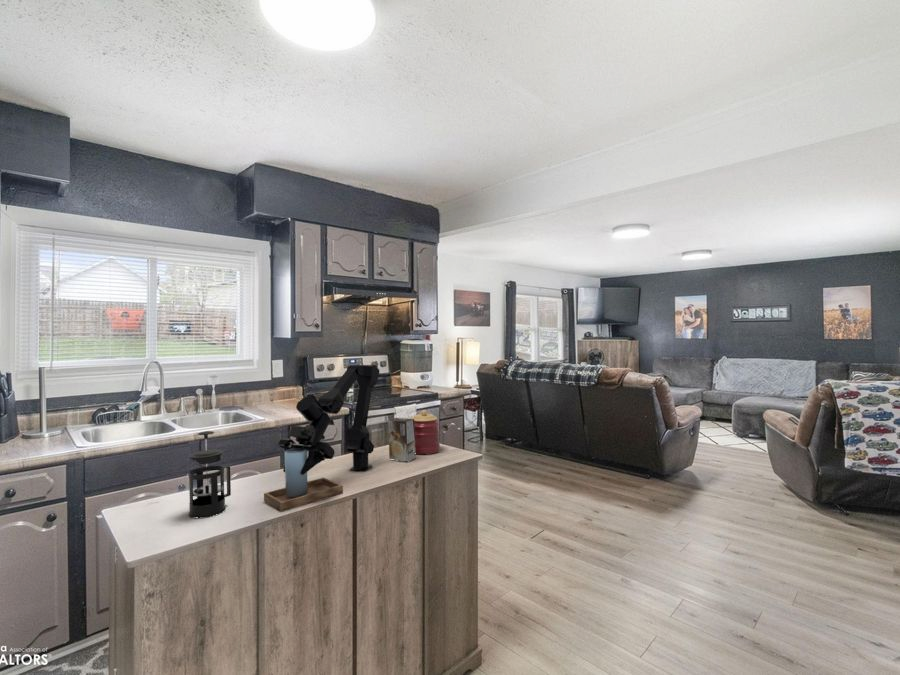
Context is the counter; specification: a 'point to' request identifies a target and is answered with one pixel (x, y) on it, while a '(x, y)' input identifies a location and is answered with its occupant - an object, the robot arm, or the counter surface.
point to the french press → (207, 495)
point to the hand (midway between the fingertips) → (292, 473)
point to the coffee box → (401, 439)
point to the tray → (315, 493)
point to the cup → (295, 472)
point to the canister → (426, 433)
